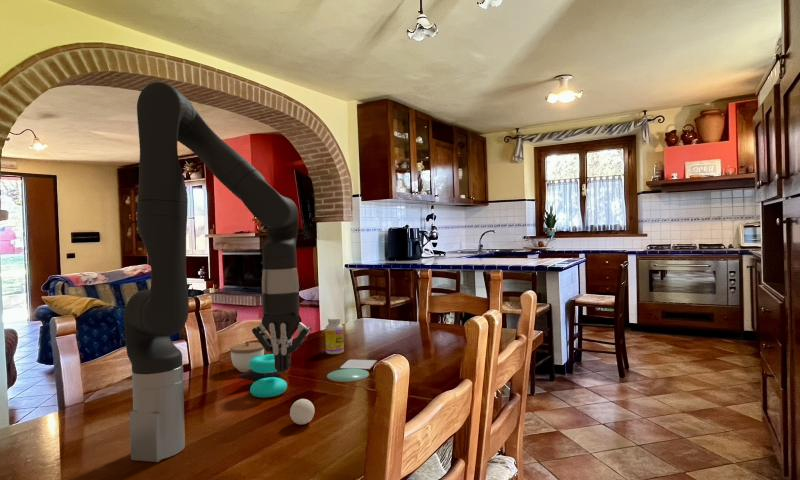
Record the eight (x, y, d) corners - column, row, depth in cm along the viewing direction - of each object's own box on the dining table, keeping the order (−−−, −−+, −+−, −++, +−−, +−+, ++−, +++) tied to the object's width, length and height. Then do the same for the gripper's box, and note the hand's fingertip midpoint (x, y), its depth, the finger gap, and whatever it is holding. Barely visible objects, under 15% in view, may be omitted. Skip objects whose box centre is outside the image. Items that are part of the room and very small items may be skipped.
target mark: (362, 382, 136) (362, 382, 136) (320, 381, 139) (320, 380, 139) (373, 369, 149) (373, 369, 149) (335, 368, 151) (335, 368, 151)
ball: (309, 429, 104) (308, 404, 104) (286, 427, 105) (285, 403, 105) (318, 419, 110) (317, 395, 110) (296, 418, 111) (295, 395, 111)
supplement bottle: (336, 355, 168) (335, 320, 168) (322, 353, 172) (321, 319, 172) (347, 351, 174) (346, 317, 174) (333, 349, 177) (332, 316, 177)
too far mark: (369, 369, 150) (369, 368, 150) (339, 368, 152) (339, 367, 152) (376, 360, 160) (376, 360, 160) (348, 360, 161) (348, 359, 161)
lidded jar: (236, 376, 146) (235, 346, 146) (226, 368, 155) (226, 341, 155) (269, 369, 152) (268, 341, 152) (258, 363, 161) (257, 336, 161)
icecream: (247, 371, 129) (291, 363, 141) (234, 360, 134) (277, 353, 146) (243, 394, 130) (286, 384, 142) (229, 382, 135) (273, 374, 146)
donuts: (241, 359, 128) (270, 351, 136) (242, 395, 128) (271, 385, 136) (265, 364, 122) (293, 355, 131) (266, 401, 123) (294, 390, 131)
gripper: (242, 292, 95) (245, 376, 96) (303, 292, 93) (305, 378, 93) (260, 287, 103) (262, 365, 103) (316, 287, 100) (319, 367, 100)
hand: (283, 371), depth 98 cm, fingers closed
